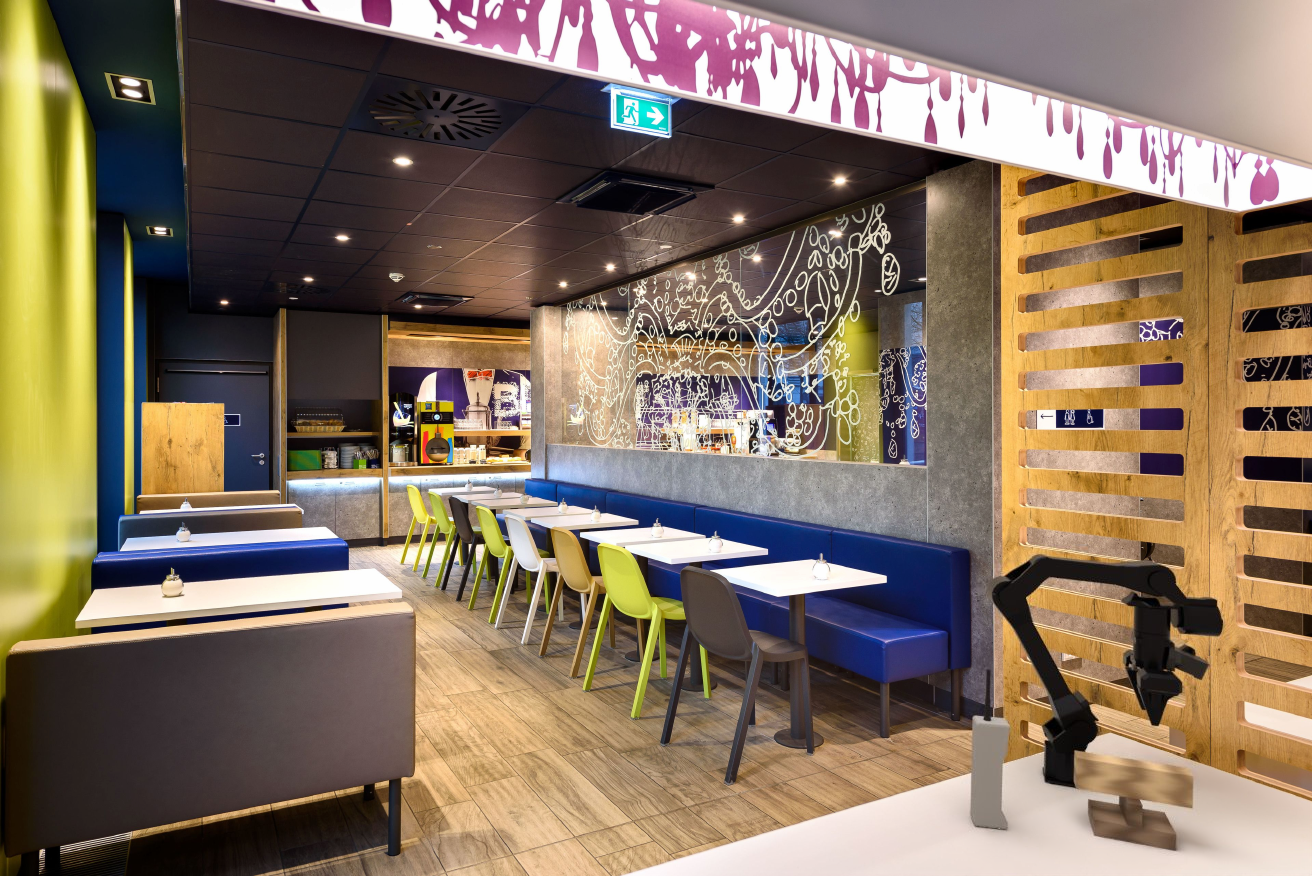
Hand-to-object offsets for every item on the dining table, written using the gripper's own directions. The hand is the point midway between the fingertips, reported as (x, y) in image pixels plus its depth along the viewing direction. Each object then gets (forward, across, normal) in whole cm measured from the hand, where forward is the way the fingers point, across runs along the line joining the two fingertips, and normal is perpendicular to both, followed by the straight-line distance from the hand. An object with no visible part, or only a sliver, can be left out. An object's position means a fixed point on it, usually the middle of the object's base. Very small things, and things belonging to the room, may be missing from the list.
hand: (1149, 717), depth 143 cm
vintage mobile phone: (+13, -27, +27) cm, 40 cm away
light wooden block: (+7, -20, +6) cm, 22 cm away
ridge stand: (+13, -20, +6) cm, 25 cm away
